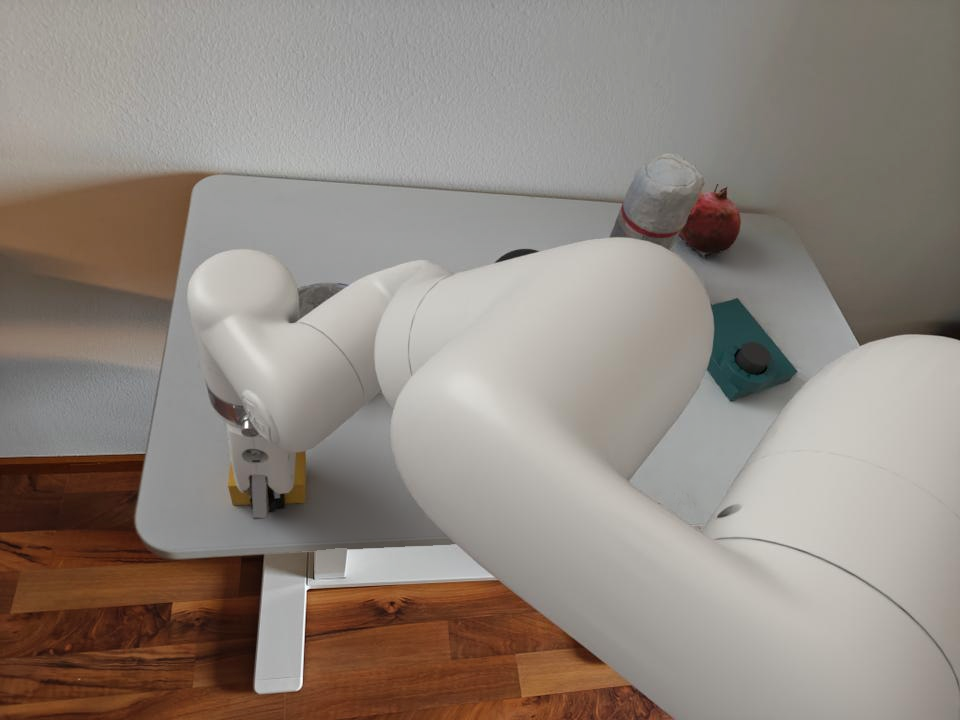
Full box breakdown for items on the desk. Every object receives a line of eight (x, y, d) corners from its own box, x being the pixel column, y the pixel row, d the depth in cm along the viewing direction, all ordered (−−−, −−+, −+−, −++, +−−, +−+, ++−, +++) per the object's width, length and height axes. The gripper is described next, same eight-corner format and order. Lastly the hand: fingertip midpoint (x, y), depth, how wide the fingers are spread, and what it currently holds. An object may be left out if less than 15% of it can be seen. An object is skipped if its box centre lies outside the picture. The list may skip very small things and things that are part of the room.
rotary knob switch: (793, 385, 94) (809, 367, 91) (731, 406, 90) (746, 388, 87) (730, 308, 101) (743, 288, 98) (671, 324, 97) (683, 305, 94)
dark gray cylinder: (769, 370, 90) (777, 360, 88) (746, 378, 89) (754, 368, 87) (751, 348, 92) (759, 338, 90) (729, 355, 90) (736, 345, 89)
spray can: (643, 315, 97) (703, 199, 81) (585, 292, 98) (634, 173, 82) (656, 275, 102) (715, 159, 87) (601, 254, 103) (650, 135, 87)
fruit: (705, 274, 104) (735, 222, 96) (654, 236, 107) (679, 182, 100) (739, 249, 109) (770, 197, 101) (689, 212, 112) (716, 160, 104)
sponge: (306, 467, 76) (305, 448, 73) (305, 503, 73) (303, 484, 70) (236, 469, 74) (231, 449, 71) (232, 505, 72) (227, 486, 69)
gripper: (298, 471, 55) (305, 563, 70) (306, 305, 65) (310, 415, 80) (194, 473, 54) (223, 567, 68) (218, 303, 64) (238, 416, 78)
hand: (270, 484), depth 74 cm, fingers closed on sponge, 4 cm apart
